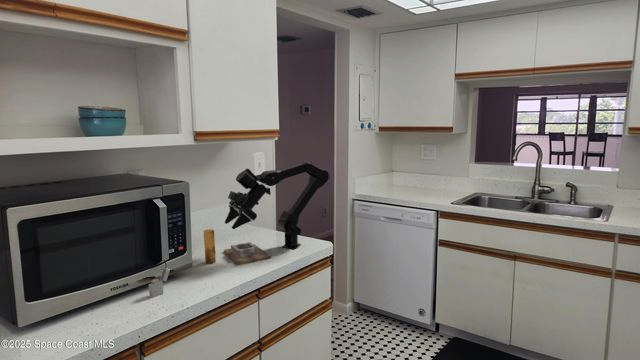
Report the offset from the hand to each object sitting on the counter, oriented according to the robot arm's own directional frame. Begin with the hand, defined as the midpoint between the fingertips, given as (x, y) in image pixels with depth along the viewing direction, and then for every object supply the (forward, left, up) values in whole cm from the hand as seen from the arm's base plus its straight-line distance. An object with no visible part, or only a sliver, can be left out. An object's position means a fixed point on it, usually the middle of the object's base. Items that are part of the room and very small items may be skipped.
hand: (228, 225), depth 162 cm
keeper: (-5, +4, -14) cm, 15 cm away
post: (+6, -5, -14) cm, 16 cm away
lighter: (+36, -3, -14) cm, 39 cm away
